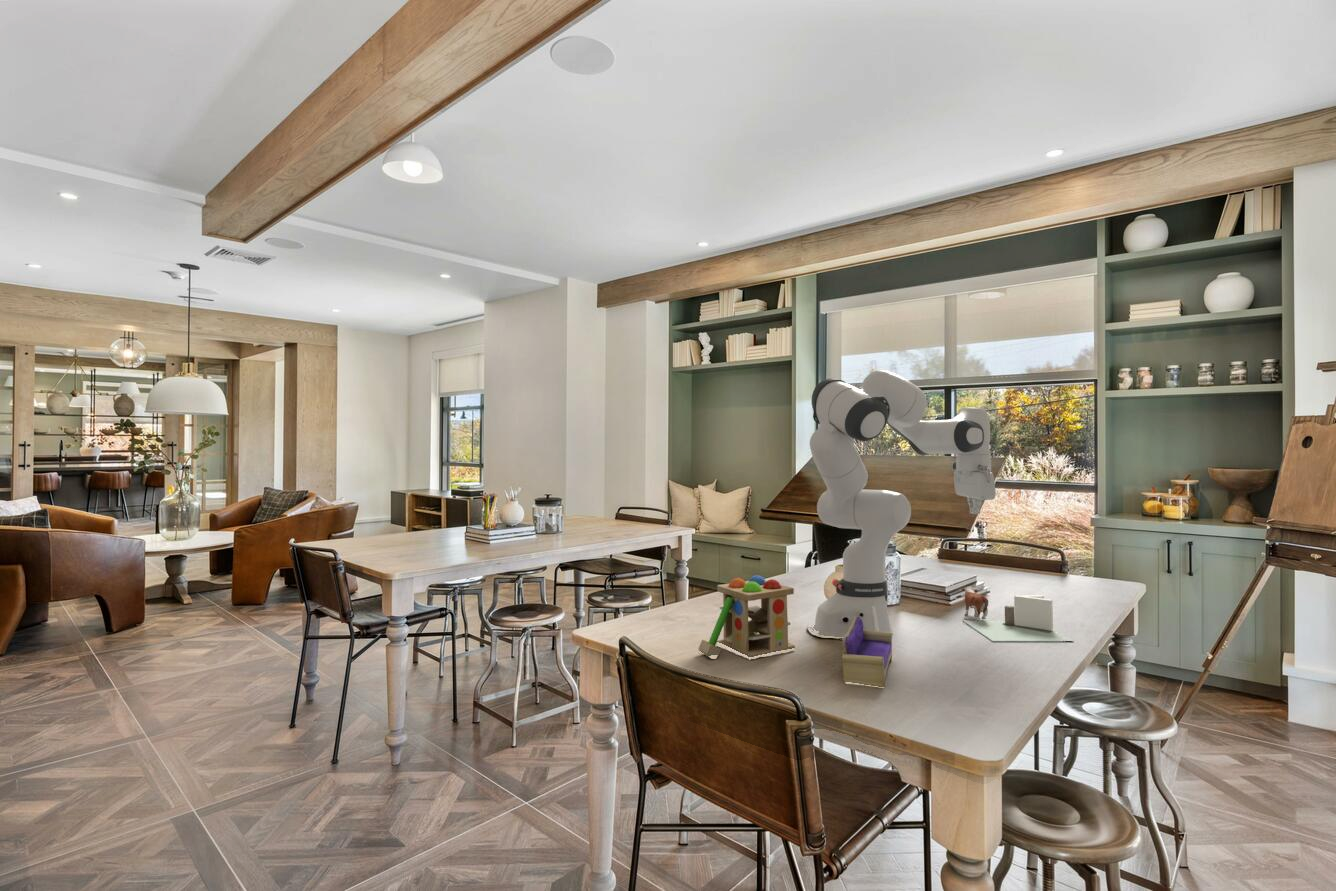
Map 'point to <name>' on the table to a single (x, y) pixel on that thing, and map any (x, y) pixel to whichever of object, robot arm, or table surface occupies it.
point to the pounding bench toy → (764, 620)
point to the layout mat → (1015, 632)
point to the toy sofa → (866, 655)
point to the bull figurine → (975, 602)
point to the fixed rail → (1010, 611)
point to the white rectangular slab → (1033, 612)
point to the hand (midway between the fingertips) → (975, 513)
